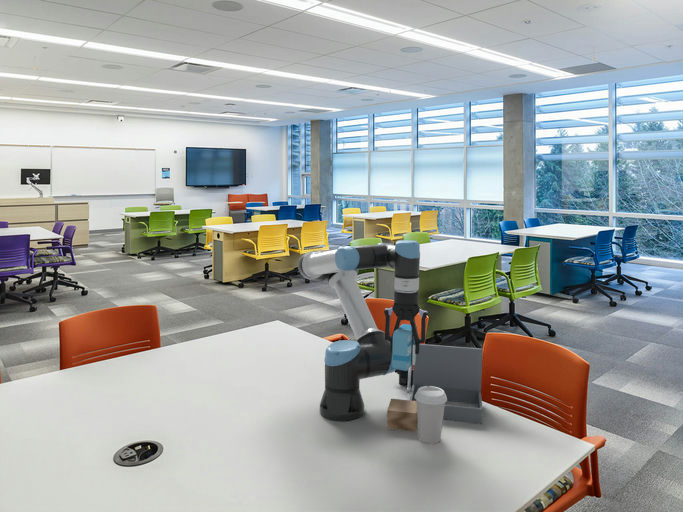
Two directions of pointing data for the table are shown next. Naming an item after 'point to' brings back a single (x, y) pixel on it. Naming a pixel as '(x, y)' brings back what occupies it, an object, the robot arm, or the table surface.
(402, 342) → the light blue box
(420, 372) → the case
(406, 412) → the stand
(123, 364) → the table surface
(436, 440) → the coffee cup
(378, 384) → the table surface
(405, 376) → the scope
